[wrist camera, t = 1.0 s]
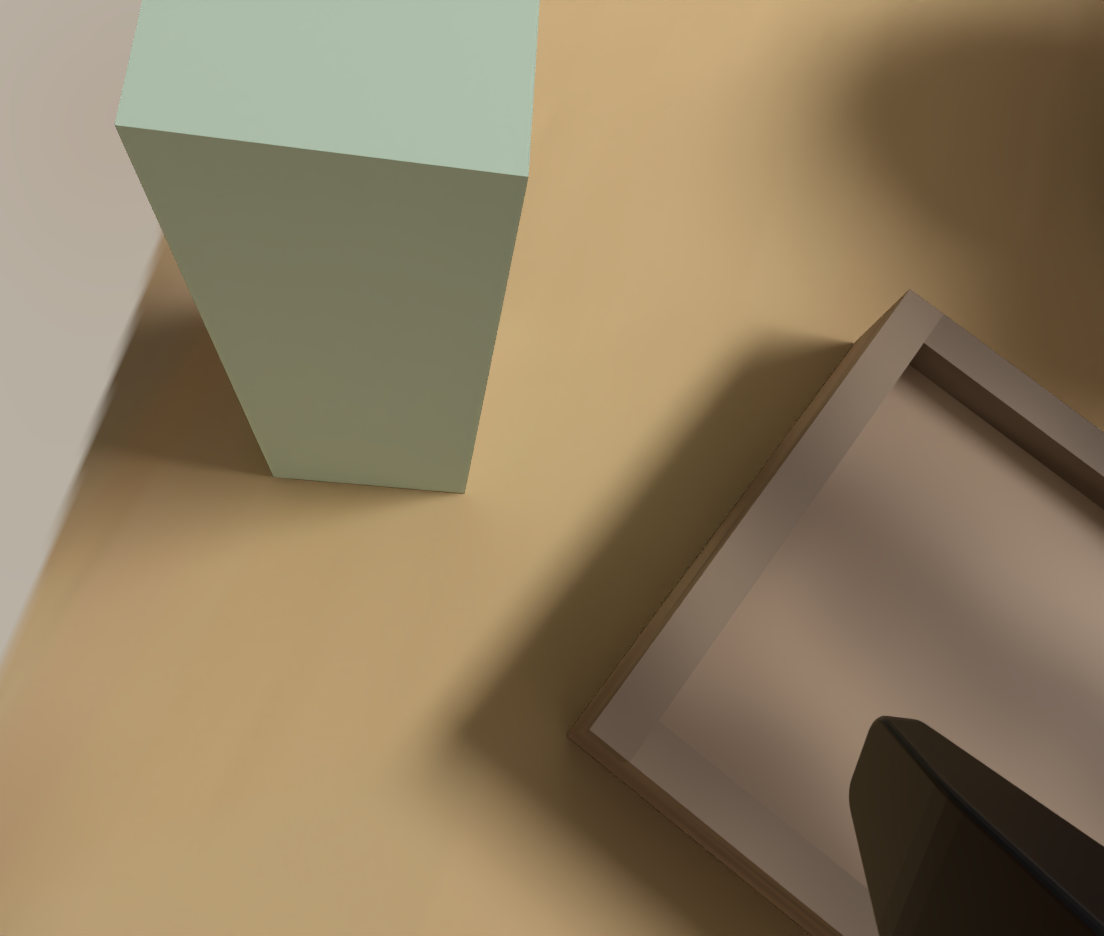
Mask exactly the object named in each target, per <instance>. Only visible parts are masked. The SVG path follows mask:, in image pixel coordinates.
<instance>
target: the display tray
mask: <svg viewBox="0 0 1104 936" xmlns="http://www.w3.org/2000/svg"><path fill="white" fill-rule="evenodd" d="M881 716H893V717H902V718H911V719H916V720H920V721H922V722H924V723H925V724H927V725H928V726H930V727H931V728H933V729H934V730H935V731H937V732H938V733H940V734H941V735H943V736H944V737H946V738H947V739H949V740H950V741H951V742H953V743H954V744H956V745H957V746H959V747H960V748H962V749H963V750H965V751H966V752H967V753H969V754H970V755H972V756H973V757H975V758H976V759H978V760H979V761H981V762H982V763H983V764H985V765H986V766H988V767H989V768H991V769H992V770H994V771H995V772H996V773H998V774H999V775H1001V776H1002V777H1004V778H1005V779H1007V780H1008V781H1010V782H1011V783H1012V784H1014V785H1015V786H1017V787H1018V788H1020V789H1021V790H1023V791H1024V792H1026V793H1027V794H1028V795H1030V796H1031V797H1033V798H1034V799H1036V800H1037V801H1039V802H1040V803H1042V804H1043V805H1044V806H1046V807H1047V808H1049V809H1050V810H1052V811H1053V812H1055V813H1056V814H1057V815H1059V816H1060V817H1062V818H1063V819H1065V820H1066V821H1068V822H1069V823H1071V824H1072V825H1073V826H1075V827H1076V828H1078V829H1079V830H1081V831H1082V832H1084V833H1085V834H1087V835H1088V836H1089V837H1091V838H1092V839H1094V840H1095V841H1097V842H1098V843H1100V844H1101V845H1103V846H1104V432H1102V431H1101V430H1100V429H1098V428H1097V427H1096V426H1094V425H1093V424H1092V423H1090V422H1089V421H1088V420H1086V419H1085V418H1084V417H1082V416H1081V415H1079V414H1078V413H1077V412H1075V411H1074V410H1073V409H1071V408H1070V407H1069V406H1067V405H1066V404H1065V403H1063V402H1062V401H1061V400H1059V399H1058V398H1057V397H1055V396H1054V395H1052V394H1051V393H1050V392H1048V391H1047V390H1046V389H1044V388H1043V387H1042V386H1040V385H1039V384H1038V383H1036V382H1035V381H1034V380H1032V379H1031V378H1029V377H1028V376H1027V375H1025V374H1024V373H1023V372H1021V371H1020V370H1019V369H1017V368H1016V367H1015V366H1013V365H1012V364H1011V363H1009V362H1008V361H1007V360H1005V359H1004V358H1002V357H1001V356H1000V355H998V354H997V353H996V352H994V351H993V350H992V349H990V348H989V347H988V346H986V345H985V344H984V343H982V342H981V341H979V340H978V339H977V338H975V337H974V336H973V335H971V334H970V333H969V332H967V331H966V330H965V329H963V328H962V327H961V326H959V325H958V324H957V323H955V322H954V321H952V320H951V319H950V318H948V317H947V316H946V315H944V314H943V313H942V312H940V311H939V310H938V309H936V308H935V307H934V306H932V305H931V304H929V303H928V302H927V301H925V300H924V299H923V298H921V297H920V296H919V295H917V294H916V293H915V292H913V291H912V290H911V289H910V290H908V291H907V292H906V293H905V294H904V295H903V296H902V297H901V298H900V299H899V300H898V301H897V302H896V303H895V304H894V305H893V306H892V307H891V308H890V309H889V310H888V311H887V312H886V313H885V314H884V315H883V316H882V317H881V318H880V319H879V320H878V321H877V322H875V323H874V324H873V325H872V326H871V327H870V328H869V329H868V330H867V331H866V332H865V333H864V334H863V335H862V336H861V337H860V338H859V339H858V340H857V341H856V342H855V343H854V345H853V346H852V347H851V349H850V350H849V351H848V353H847V354H846V355H845V357H844V358H843V359H842V361H841V362H840V364H839V365H838V366H837V368H836V369H835V370H834V372H833V373H832V374H831V376H830V377H829V379H828V380H827V381H826V383H825V384H824V385H823V387H822V388H821V389H820V391H819V392H818V393H817V395H816V396H815V398H814V399H813V400H812V402H811V403H810V404H809V406H808V407H807V408H806V410H805V411H804V413H803V414H802V415H801V417H800V418H799V419H798V421H797V422H796V423H795V425H794V426H793V427H792V429H791V430H790V432H789V433H788V434H787V436H786V437H785V438H784V440H783V441H782V442H781V444H780V445H779V447H778V448H777V449H776V451H775V452H774V453H773V455H772V456H771V457H770V459H769V460H768V461H767V463H766V464H765V466H764V467H763V468H762V470H761V471H760V472H759V474H758V475H757V476H756V478H755V479H754V481H753V482H752V483H751V485H750V486H749V487H748V489H747V490H746V491H745V493H744V494H743V495H742V497H741V498H740V500H739V501H738V502H737V504H736V505H735V506H734V508H733V509H732V510H731V512H730V513H729V515H728V516H727V517H726V519H725V520H724V521H723V523H722V524H721V525H720V527H719V528H718V529H717V531H716V532H715V534H714V535H713V536H712V538H711V539H710V540H709V542H708V543H707V544H706V546H705V547H704V548H703V550H702V551H701V553H700V554H699V555H698V557H697V558H696V559H695V561H694V562H693V563H692V565H691V566H690V568H689V569H688V570H687V572H686V573H685V574H684V576H683V577H682V578H681V580H680V581H679V582H678V584H677V585H676V587H675V588H674V589H673V591H672V592H671V593H670V595H669V596H668V597H667V599H666V600H665V602H664V603H663V604H662V606H661V607H660V608H659V610H658V611H657V612H656V614H655V615H654V616H653V618H652V619H651V621H650V622H649V623H648V625H647V626H646V627H645V629H644V630H643V631H642V633H641V634H640V636H639V637H638V638H637V640H636V641H635V642H634V644H633V645H632V646H631V648H630V649H629V650H628V652H627V653H626V655H625V656H624V657H623V659H622V660H621V661H620V663H619V664H618V665H617V667H616V668H615V670H614V671H613V672H612V674H611V675H610V676H609V678H608V679H607V680H606V682H605V683H604V684H603V686H602V687H601V689H600V690H599V691H598V693H597V694H596V695H595V697H594V698H593V699H592V701H591V702H590V704H589V705H588V706H587V708H586V709H585V710H584V712H583V713H582V714H581V716H580V717H579V718H578V720H577V721H576V723H575V724H574V725H573V727H572V728H571V729H570V731H569V732H568V733H567V735H566V736H567V737H568V738H570V739H571V740H572V741H573V742H575V743H576V744H577V745H578V746H580V747H581V748H582V749H583V750H584V751H586V752H587V753H588V754H589V755H591V756H592V757H593V758H594V759H595V760H597V761H598V762H599V763H600V764H602V765H603V766H604V767H605V768H607V769H608V770H609V771H610V772H611V773H613V774H614V775H615V776H616V777H618V778H619V779H620V780H621V781H622V782H624V783H625V784H626V785H627V786H629V787H630V788H631V789H632V790H634V791H635V792H636V793H637V794H638V795H640V796H641V797H642V798H643V799H645V800H646V801H647V802H648V803H650V804H651V805H652V806H653V807H654V808H656V809H657V810H658V811H659V812H661V813H662V814H663V815H664V816H665V817H667V818H668V819H669V820H670V821H672V822H673V823H674V824H675V825H677V826H678V827H679V828H680V829H681V830H683V831H684V832H685V833H686V834H688V835H689V836H690V837H691V838H692V839H694V840H695V841H696V842H697V843H699V844H700V845H701V846H702V847H704V848H705V849H706V850H707V851H708V852H710V853H711V854H712V855H713V856H715V857H716V858H717V859H718V860H719V861H721V862H722V863H723V864H724V865H726V866H727V867H728V868H729V869H731V870H732V871H733V872H734V873H735V874H737V875H738V876H739V877H740V878H742V879H743V880H744V881H745V882H747V883H748V884H749V885H750V886H751V887H753V888H754V889H755V890H756V891H758V892H759V893H760V894H761V895H762V896H764V897H765V898H766V899H767V900H769V901H770V902H771V903H772V904H774V905H775V906H776V907H777V908H778V909H780V910H781V911H782V912H783V913H785V914H786V915H787V916H788V917H789V918H791V919H792V920H793V921H794V922H796V923H797V924H798V925H799V926H801V927H802V928H803V929H804V930H805V931H807V932H808V933H809V934H810V935H812V936H879V935H878V931H877V926H876V922H875V918H874V913H873V909H872V904H871V900H870V896H869V891H868V887H867V882H866V878H865V874H864V869H863V865H862V860H861V856H860V851H859V847H858V843H857V838H856V834H855V829H854V825H853V821H852V816H851V812H850V806H849V788H850V782H851V779H852V776H853V773H854V770H855V767H856V765H857V762H858V759H859V756H860V753H861V751H862V748H863V745H864V742H865V739H866V736H867V734H868V731H869V729H870V726H871V724H872V723H873V722H874V720H875V719H877V718H879V717H881Z"/></svg>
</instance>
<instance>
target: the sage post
mask: <svg viewBox="0 0 1104 936" xmlns="http://www.w3.org/2000/svg"><path fill="white" fill-rule="evenodd" d="M539 2H540V0H142V5H141V9H140V14H139V19H138V23H137V27H136V32H135V36H134V41H133V45H132V50H131V54H130V59H129V63H128V68H127V72H126V76H125V81H124V85H123V90H122V94H121V99H120V103H119V108H118V112H117V116H116V121H115V127H116V129H117V131H118V134H119V136H120V138H121V140H122V142H123V144H124V147H125V149H126V151H127V154H128V156H129V158H130V160H131V162H132V165H133V166H134V169H135V171H136V173H137V175H138V178H139V180H140V182H141V184H142V187H143V189H144V191H145V193H146V196H147V198H148V200H149V202H150V204H151V207H152V209H153V211H154V213H155V215H156V218H157V220H158V222H159V224H160V227H161V229H162V231H163V233H164V236H165V238H166V240H167V242H168V244H169V247H170V249H171V251H172V253H173V255H174V258H175V260H176V262H177V264H178V267H179V269H180V271H181V273H182V275H183V278H184V280H185V282H186V284H187V286H188V289H189V291H190V293H191V295H192V298H193V300H194V302H195V304H196V306H197V309H198V311H199V313H200V315H201V318H202V320H203V322H204V324H205V326H206V329H207V331H208V333H209V335H210V337H211V340H212V342H213V344H214V346H215V349H216V351H217V353H218V355H219V357H220V360H221V362H222V364H223V366H224V368H225V371H226V373H227V375H228V377H229V380H230V382H231V384H232V386H233V388H234V391H235V393H236V395H237V397H238V400H239V402H240V404H241V406H242V408H243V411H244V413H245V415H246V417H247V419H248V422H249V424H250V426H251V428H252V431H253V433H254V435H255V437H256V439H257V442H258V444H259V446H260V448H261V450H262V453H263V455H264V457H265V459H266V462H267V464H268V466H269V468H270V470H271V473H272V475H273V477H278V478H290V479H301V480H313V481H325V482H337V483H349V484H360V485H372V486H384V487H396V488H408V489H419V490H431V491H443V492H455V493H465V489H466V484H467V479H468V474H469V469H470V464H471V459H472V454H473V449H474V444H475V439H476V435H477V430H478V425H479V420H480V415H481V410H482V405H483V400H484V395H485V390H486V385H487V380H488V375H489V370H490V365H491V360H492V355H493V350H494V345H495V340H496V335H497V330H498V325H499V320H500V315H501V310H502V305H503V300H504V295H505V291H506V286H507V281H508V276H509V271H510V266H511V261H512V256H513V251H514V246H515V241H516V236H517V231H518V226H519V221H520V216H521V211H522V206H523V201H524V196H525V191H526V186H527V181H528V175H529V160H530V144H531V128H532V112H533V97H534V81H535V65H536V50H537V34H538V18H539Z"/></svg>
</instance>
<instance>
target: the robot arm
mask: <svg viewBox="0 0 1104 936" xmlns="http://www.w3.org/2000/svg"><path fill="white" fill-rule="evenodd" d="M849 806H850V812H851V816H852V821H853V825H854V829H855V834H856V838H857V843H858V847H859V851H860V856H861V860H862V865H863V869H864V874H865V878H866V882H867V887H868V891H869V896H870V900H871V904H872V909H873V913H874V918H875V922H876V926H877V931H878V935H879V936H1104V846H1103V845H1101V844H1100V843H1098V842H1097V841H1095V840H1094V839H1092V838H1091V837H1089V836H1088V835H1087V834H1085V833H1084V832H1082V831H1081V830H1079V829H1078V828H1076V827H1075V826H1073V825H1072V824H1071V823H1069V822H1068V821H1066V820H1065V819H1063V818H1062V817H1060V816H1059V815H1057V814H1056V813H1055V812H1053V811H1052V810H1050V809H1049V808H1047V807H1046V806H1044V805H1043V804H1042V803H1040V802H1039V801H1037V800H1036V799H1034V798H1033V797H1031V796H1030V795H1028V794H1027V793H1026V792H1024V791H1023V790H1021V789H1020V788H1018V787H1017V786H1015V785H1014V784H1012V783H1011V782H1010V781H1008V780H1007V779H1005V778H1004V777H1002V776H1001V775H999V774H998V773H996V772H995V771H994V770H992V769H991V768H989V767H988V766H986V765H985V764H983V763H982V762H981V761H979V760H978V759H976V758H975V757H973V756H972V755H970V754H969V753H967V752H966V751H965V750H963V749H962V748H960V747H959V746H957V745H956V744H954V743H953V742H951V741H950V740H949V739H947V738H946V737H944V736H943V735H941V734H940V733H938V732H937V731H935V730H934V729H933V728H931V727H930V726H928V725H927V724H925V723H924V722H922V721H920V720H916V719H911V718H902V717H893V716H881V717H879V718H877V719H875V720H874V722H873V723H872V724H871V726H870V729H869V731H868V734H867V736H866V739H865V742H864V745H863V748H862V751H861V753H860V756H859V759H858V762H857V765H856V767H855V770H854V773H853V776H852V779H851V782H850V788H849Z"/></svg>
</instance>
